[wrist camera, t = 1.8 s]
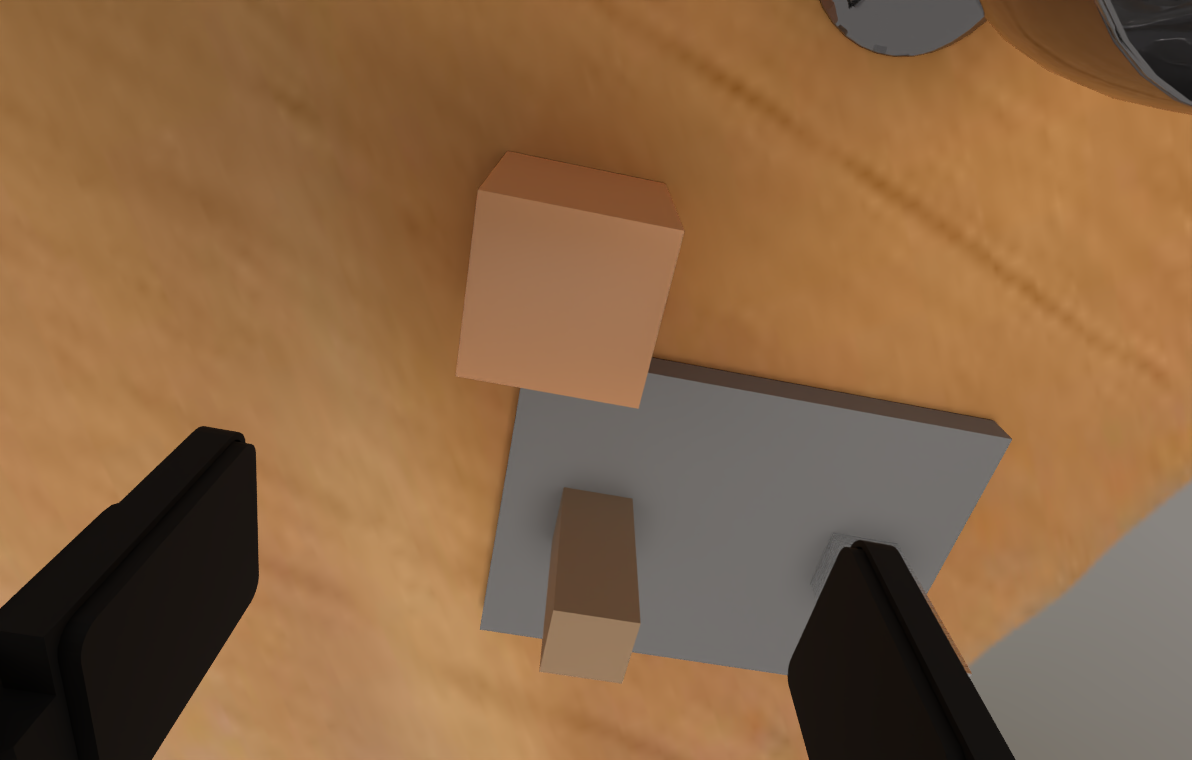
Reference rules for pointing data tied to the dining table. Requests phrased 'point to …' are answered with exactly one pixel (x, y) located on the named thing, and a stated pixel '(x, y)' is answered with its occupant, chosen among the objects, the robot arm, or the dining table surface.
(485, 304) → the tan cardboard box
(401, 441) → the dining table surface
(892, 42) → the wine glass
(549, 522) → the post stand
